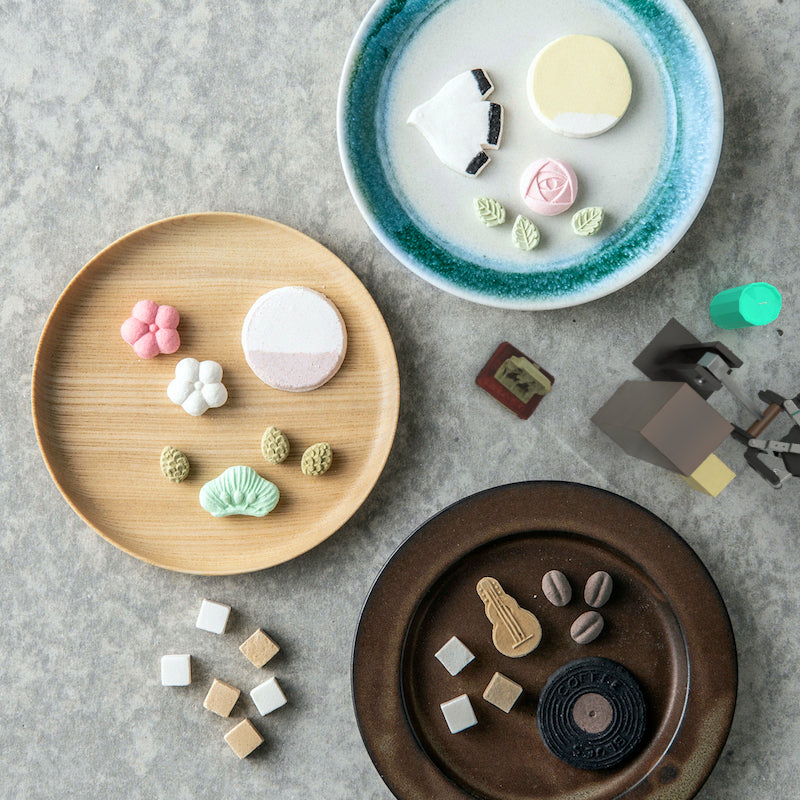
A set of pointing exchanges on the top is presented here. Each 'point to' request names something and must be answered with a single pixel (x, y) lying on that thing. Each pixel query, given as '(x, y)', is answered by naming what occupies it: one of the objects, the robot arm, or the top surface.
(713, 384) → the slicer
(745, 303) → the candle
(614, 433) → the stand
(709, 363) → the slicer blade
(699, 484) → the butter
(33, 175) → the top surface
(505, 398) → the sculpture
